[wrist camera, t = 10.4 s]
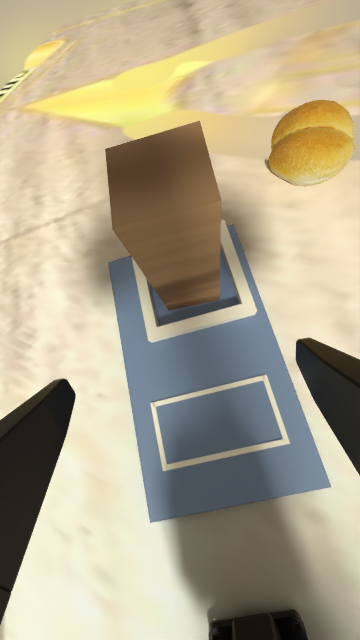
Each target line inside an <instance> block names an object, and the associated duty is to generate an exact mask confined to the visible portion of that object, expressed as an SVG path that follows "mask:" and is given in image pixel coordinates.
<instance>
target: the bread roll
mask: <svg viewBox="0 0 360 640" xmlns="http://www.w3.org/2000/svg"><path fill="white" fill-rule="evenodd" d="M354 148H355V147H354V130H353V121H352V119H351V117H350V115H349V112H348V111H347V110H346V109H345V108H344V107H342V106H341V105H339V104H338V103H336V102H334V101H327V100H316V101H312V102H308V103H305V104H303V105H301V106H299V107H297V108H295V109H293V110H292V111H290V112H289V113H288V114H287V115H285V116H284V117H283V118H282V119H281V120H280V122H279V123H278V125H277V126H276V128H275V130H274V133H273V136H272V152H271V154H270V156H269V167H270V170H271V171H272V172H273V173H274V174H276V175H277V176H278V177H280V178H282V179H284V180H286V181H288V182H290V183H291V184H293V185H296V186H310V185H315V184H319V183H322V182H325V181H326V180H328V179H331V178H332V177H334V176H335V175H337V174H338V173H339V172H340V171H341V170H342V169H343V168H344V167H345V165H346V164H347V163H348V161H349V160H350V158H351V156H352V154H353V152H354Z"/></svg>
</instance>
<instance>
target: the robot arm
mask: <svg viewBox="0 0 360 640" xmlns="http://www.w3.org/2000/svg"><path fill="white" fill-rule="evenodd" d="M296 362H297V365H298V367H299V369H300V371H301V373H302V375H303V377H304V380H305V382H306V384H307V386H308V388H309V390H310V393H311V395H312V397H313V399H314V401H315V403H316V404H317V406H318V408H319V409H320V411H321V413H322V414H323V416H324V418H325V419H326V421H327V423H328V424H329V426H330V427H331V429H332V431H333V432H334V434H335V436H336V437H337V439H338V441H339V442H340V444H341V446H342V447H343V449H344V450H345V452H346V454H347V455H348V457H349V459H350V460H351V462H352V464H353V465H354V467H355V468H356V470H357V472H358V473H359V475H360V359H357V358H355V357H353V356H350V355H348V354H346V353H344V352H341V351H339V350H337V349H334V348H332V347H330V346H328V345H325V344H323V343H321V342H318V341H316V340H314V339H312V338H303V339H298V340H297V342H296ZM74 402H75V392H74V390H73V389H72V387H71V385H70V384H69V382H68V381H67V380H66V379H57V380H54V381H53V382H51V383H50V384H49V385H47V386H46V387H44V388H43V389H42V390H40V391H39V392H38V393H36V394H35V395H34V396H32V397H31V398H30V399H28V400H27V401H26V402H24V403H23V404H21V405H20V406H19V407H17V408H16V409H15V410H13V411H12V412H11V413H9V414H8V415H7V416H5V417H4V418H3V419H1V420H0V624H1V621H2V619H3V616H4V613H5V610H6V607H7V604H8V601H9V599H10V596H11V591H12V589H13V587H14V584H15V581H16V578H17V575H18V572H19V569H20V566H21V564H22V561H23V558H24V555H25V552H26V549H27V546H28V544H29V541H30V538H31V535H32V532H33V529H34V526H35V523H36V521H37V518H38V515H39V512H40V509H41V506H42V503H43V501H44V498H45V495H46V492H47V489H48V486H49V483H50V481H51V478H52V475H53V472H54V469H55V466H56V463H57V460H58V458H59V455H60V452H61V449H62V446H63V443H64V440H65V437H66V434H67V430H68V426H69V422H70V418H71V414H72V410H73V406H74ZM293 621H297V622H298V623H297V624H296V625H294V624H293V623H292V622H293ZM213 633H218V634H219V635H218V636H215V635H214V634H213ZM209 640H308V638H307V634H306V631H305V627H304V624H303V621H302V618H301V616H300V615H299V613H298V612H296V611H295V610H289V611H283V612H276V613H270V614H268V613H266V614H260V615H253V616H247V617H240V618H235V619H231V620H224V621H218V622H213V623H211V625H210V626H209Z"/></svg>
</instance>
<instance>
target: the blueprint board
mask: <svg viewBox="0 0 360 640" xmlns="http://www.w3.org/2000/svg"><path fill="white" fill-rule="evenodd" d="M109 270H110V276H111V282H112V288H113V295H114V301H115V307H116V313H117V319H118V326H119V332H120V338H121V344H122V350H123V357H124V363H125V369H126V375H127V382H128V388H129V394H130V400H131V406H132V413H133V419H134V425H135V431H136V437H137V444H138V450H139V456H140V462H141V469H142V475H143V481H144V487H145V493H146V500H147V506H148V512H149V518H150V523H151V522H156V521H161V520H166V519H171V518H177V517H182V516H187V515H192V514H197V513H202V512H207V511H212V510H217V509H222V508H227V507H232V506H237V505H242V504H247V503H252V502H257V501H262V500H267V499H273V498H278V497H283V496H288V495H293V494H298V493H303V492H308V491H313V490H318V489H323V488H328V487H331V485H330V482H329V480H328V477H327V474H326V472H325V469H324V466H323V463H322V461H321V458H320V455H319V453H318V450H317V447H316V445H315V442H314V439H313V437H312V434H311V431H310V429H309V426H308V423H307V421H306V418H305V415H304V413H303V410H302V407H301V405H300V402H299V399H298V397H297V394H296V391H295V388H294V386H293V383H292V380H291V378H290V375H289V372H288V370H287V367H286V364H285V362H284V359H283V356H282V354H281V351H280V348H279V346H278V343H277V340H276V338H275V335H274V332H273V330H272V327H271V324H270V322H269V319H268V316H267V313H266V311H265V308H264V305H263V303H262V300H261V297H260V295H259V292H258V289H257V287H256V284H255V281H254V279H253V276H252V273H251V271H250V268H249V265H248V263H247V260H246V257H245V255H244V252H243V249H242V246H241V244H240V241H239V238H238V236H237V233H236V230H235V228H234V225H233V224H232V225H229V226H226V223H225V220H224V219H223V220H221V240H220V293H219V300H218V301H213V302H209V303H204V304H199V305H194V306H189V307H185V308H180V309H175V310H170V311H169V310H168V309H167V307H166V306H165V304H164V303H163V301H162V300H161V299H160V297H159V296H158V294H157V293H156V291H155V290H154V288H153V287H152V285H151V284H150V282H149V281H148V280H147V278H146V277H145V275H144V274H143V272H142V271H141V269H140V268H139V266H138V265H137V264H136V262H135V261H134V259H133V258H132V256H129V257H125V258H122V259H119V260H116V261H113V262H109Z"/></svg>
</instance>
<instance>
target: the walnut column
mask: <svg viewBox="0 0 360 640" xmlns="http://www.w3.org/2000/svg"><path fill="white" fill-rule="evenodd" d="M105 151H106V162H107V173H108V184H109V195H110V206H111V217H112V228H113V230H114V231H115V233H116V234H117V236H118V237H119V239H120V240H121V242H122V243H123V245H124V246H125V247H126V249H127V250H128V252H129V253H130V255H131V256H132V258H133V259H134V261H135V262H136V264H137V265H138V266H139V268H140V269H141V271H142V272H143V274H144V275H145V277H146V278H147V280H148V281H149V282H150V284H151V285H152V287H153V288H154V290H155V291H156V293H157V294H158V296H159V297H160V299H161V300H162V301H163V303H164V304H165V306H166V307H167V309H168V310H169V311H170V310H175V309H180V308H185V307H189V306H194V305H199V304H204V303H209V302H213V301H218V300H219V293H220V240H221V198H220V194H219V190H218V187H217V183H216V179H215V176H214V172H213V168H212V164H211V161H210V157H209V153H208V150H207V146H206V142H205V138H204V135H203V131H202V127H201V124H200V121H197V122H194V123H191V124H187V125H184V126H181V127H177V128H174V129H171V130H167V131H164V132H161V133H158V134H154V135H151V136H147V137H144V138H141V139H137V140H134V141H131V142H127V143H124V144H121V145H117V146H114V147H111V148H107V149H105Z"/></svg>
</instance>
